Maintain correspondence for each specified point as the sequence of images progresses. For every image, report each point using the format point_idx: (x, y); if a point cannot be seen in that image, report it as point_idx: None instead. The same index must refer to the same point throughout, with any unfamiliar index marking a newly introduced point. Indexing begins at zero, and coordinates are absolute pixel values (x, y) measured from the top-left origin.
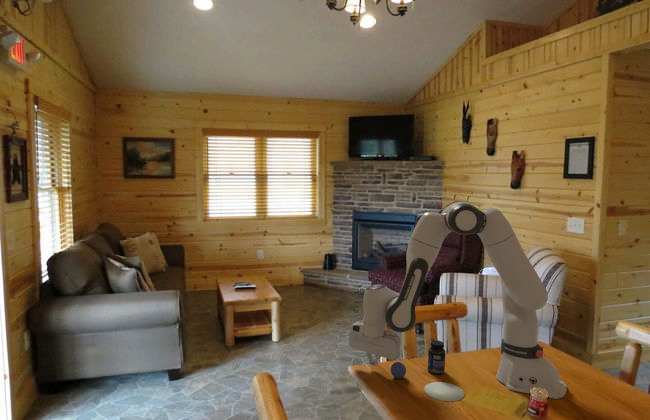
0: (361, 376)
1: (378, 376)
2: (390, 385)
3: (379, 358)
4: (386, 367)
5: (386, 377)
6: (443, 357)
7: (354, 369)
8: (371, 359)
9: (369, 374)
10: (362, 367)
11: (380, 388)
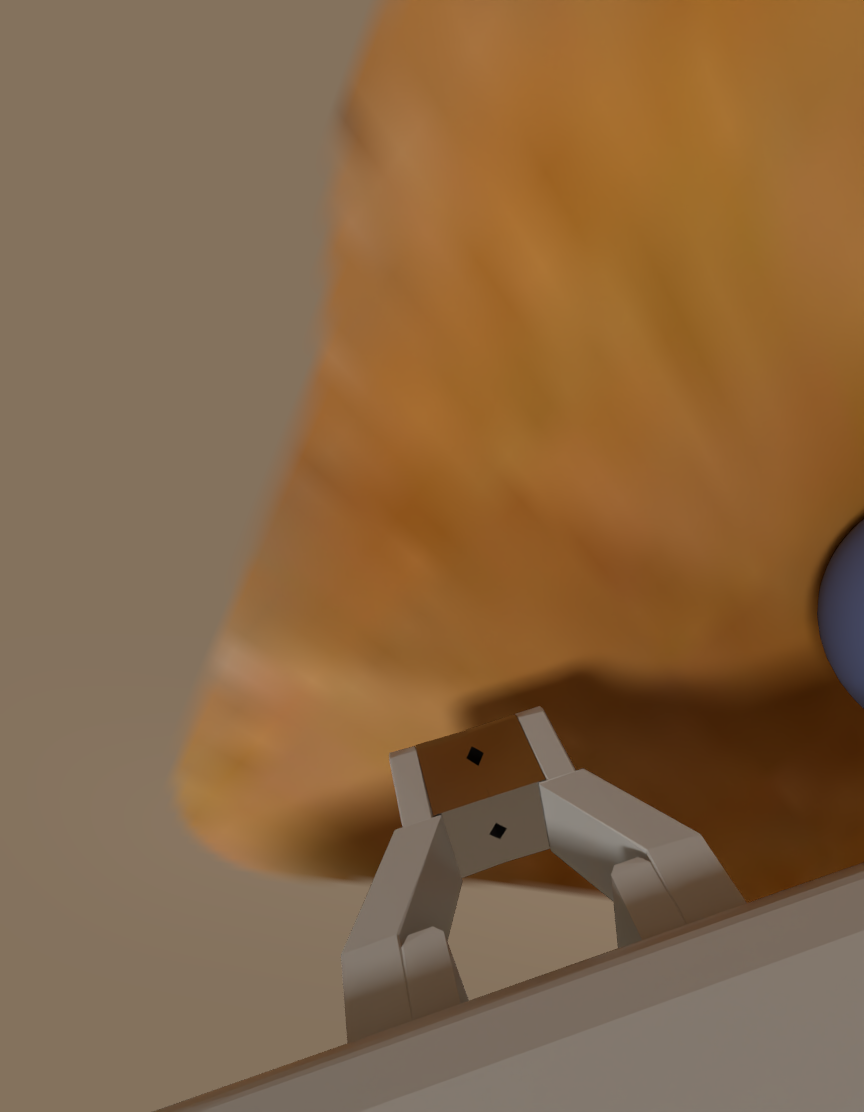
0: (467, 879)
1: (627, 733)
2: (847, 748)
3: (643, 813)
4: (547, 433)
5: (727, 671)
6: None
7: (248, 866)
8: (454, 853)
9: None
10: (262, 757)
11: (780, 849)
